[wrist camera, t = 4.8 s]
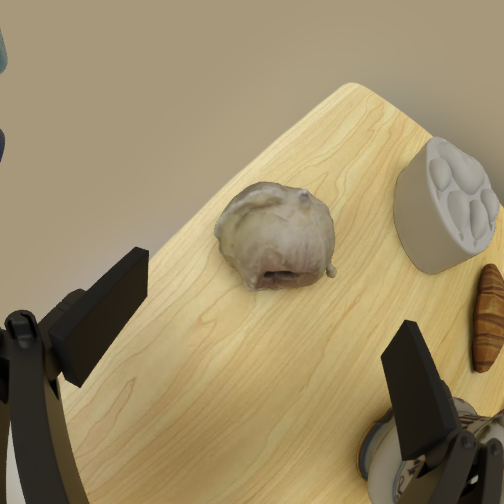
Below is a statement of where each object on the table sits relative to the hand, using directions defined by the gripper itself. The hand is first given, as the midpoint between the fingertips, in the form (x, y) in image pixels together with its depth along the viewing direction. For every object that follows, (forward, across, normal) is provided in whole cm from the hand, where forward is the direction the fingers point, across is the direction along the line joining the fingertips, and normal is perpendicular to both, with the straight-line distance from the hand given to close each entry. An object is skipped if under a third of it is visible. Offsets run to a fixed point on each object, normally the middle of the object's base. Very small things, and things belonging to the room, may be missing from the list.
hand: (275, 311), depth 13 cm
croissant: (+12, +27, -4) cm, 30 cm away
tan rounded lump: (+12, 0, -4) cm, 13 cm away
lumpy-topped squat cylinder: (+19, +17, +3) cm, 26 cm away
